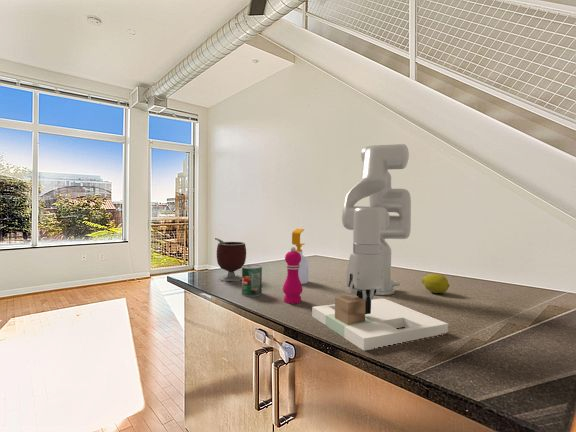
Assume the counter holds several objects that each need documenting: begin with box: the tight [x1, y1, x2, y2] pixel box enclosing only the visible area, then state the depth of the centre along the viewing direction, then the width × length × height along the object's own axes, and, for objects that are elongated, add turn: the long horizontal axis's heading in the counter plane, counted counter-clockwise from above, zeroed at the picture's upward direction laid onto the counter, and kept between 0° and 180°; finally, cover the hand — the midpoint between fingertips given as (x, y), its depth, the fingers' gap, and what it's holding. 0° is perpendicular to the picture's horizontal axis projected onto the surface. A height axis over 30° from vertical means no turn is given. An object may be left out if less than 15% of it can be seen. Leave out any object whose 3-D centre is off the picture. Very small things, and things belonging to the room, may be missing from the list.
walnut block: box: [334, 294, 366, 325], centre depth 92 cm, size 6×6×6 cm
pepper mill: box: [282, 246, 303, 305], centre depth 121 cm, size 7×7×20 cm
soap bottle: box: [291, 228, 310, 285], centre depth 151 cm, size 9×9×25 cm
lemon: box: [421, 273, 451, 294], centre depth 135 cm, size 11×8×8 cm
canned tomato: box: [241, 264, 263, 297], centre depth 130 cm, size 8×8×11 cm
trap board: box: [311, 297, 449, 351], centre depth 97 cm, size 28×27×3 cm
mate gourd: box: [214, 237, 247, 282], centre depth 156 cm, size 16×14×20 cm
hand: (365, 312), depth 96 cm, fingers closed
